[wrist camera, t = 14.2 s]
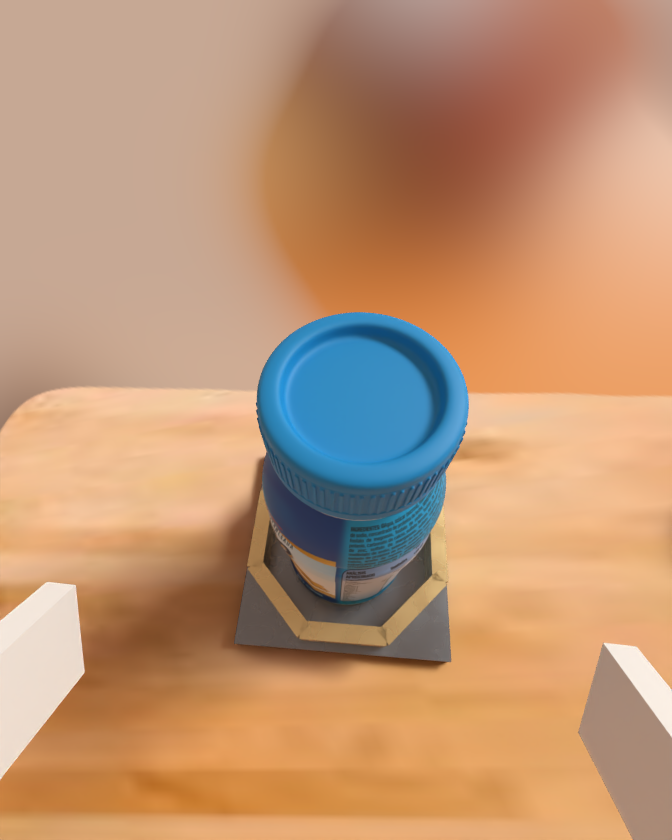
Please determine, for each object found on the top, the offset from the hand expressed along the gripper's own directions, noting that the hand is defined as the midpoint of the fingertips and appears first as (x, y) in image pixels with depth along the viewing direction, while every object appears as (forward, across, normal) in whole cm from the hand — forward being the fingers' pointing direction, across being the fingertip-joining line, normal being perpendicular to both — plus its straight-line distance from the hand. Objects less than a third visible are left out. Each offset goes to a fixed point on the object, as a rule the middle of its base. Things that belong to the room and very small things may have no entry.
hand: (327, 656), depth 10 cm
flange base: (+19, 0, -8) cm, 21 cm away
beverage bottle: (+18, 0, -8) cm, 20 cm away
